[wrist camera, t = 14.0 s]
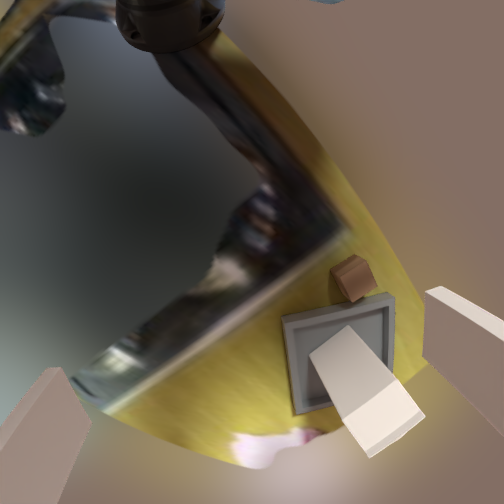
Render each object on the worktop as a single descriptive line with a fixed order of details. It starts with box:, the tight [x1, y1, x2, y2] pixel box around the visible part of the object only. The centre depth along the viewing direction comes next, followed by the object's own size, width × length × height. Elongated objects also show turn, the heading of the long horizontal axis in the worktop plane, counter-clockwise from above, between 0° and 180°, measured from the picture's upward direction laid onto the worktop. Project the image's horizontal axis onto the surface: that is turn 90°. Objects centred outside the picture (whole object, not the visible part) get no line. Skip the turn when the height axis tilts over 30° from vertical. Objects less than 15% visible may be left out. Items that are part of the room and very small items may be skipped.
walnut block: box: [330, 254, 377, 303], centre depth 40 cm, size 4×4×4 cm
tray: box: [281, 292, 395, 415], centre depth 42 cm, size 16×16×2 cm
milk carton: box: [309, 325, 425, 458], centre depth 34 cm, size 7×7×19 cm
